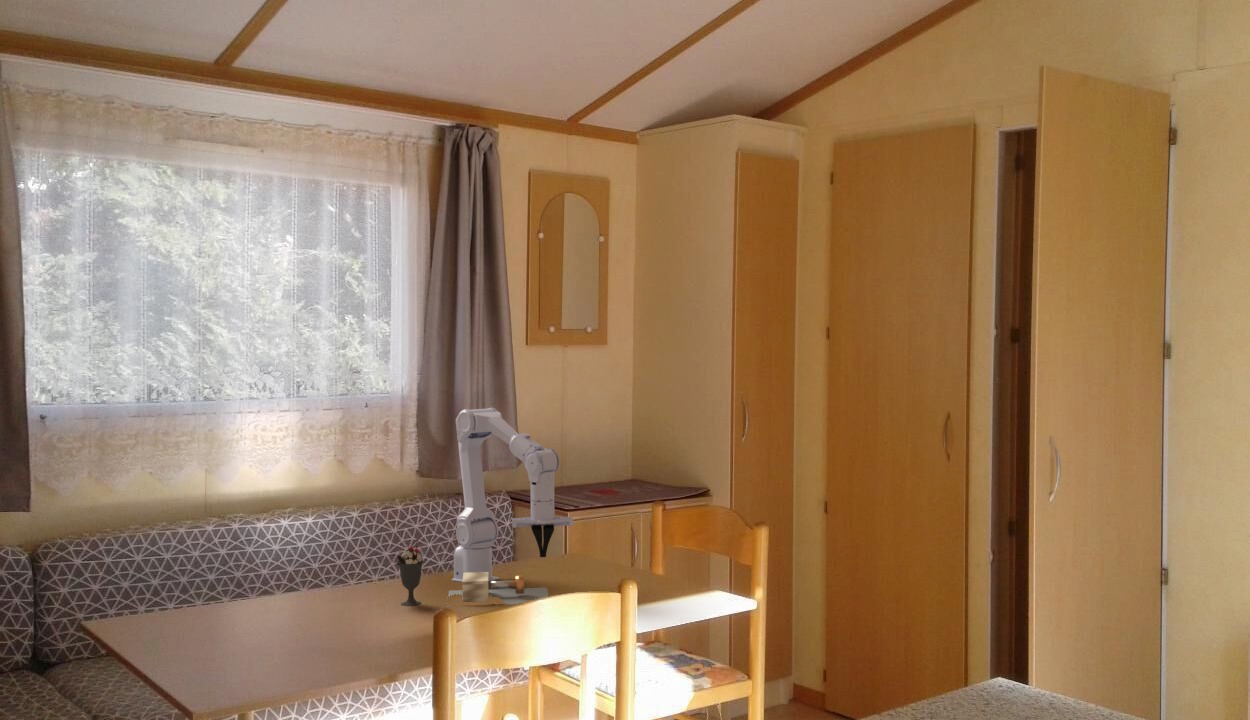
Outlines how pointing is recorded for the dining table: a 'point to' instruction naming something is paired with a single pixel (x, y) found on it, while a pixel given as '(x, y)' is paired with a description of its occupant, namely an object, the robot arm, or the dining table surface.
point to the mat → (512, 594)
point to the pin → (509, 584)
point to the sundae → (410, 572)
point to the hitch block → (475, 587)
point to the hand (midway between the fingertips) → (542, 556)
